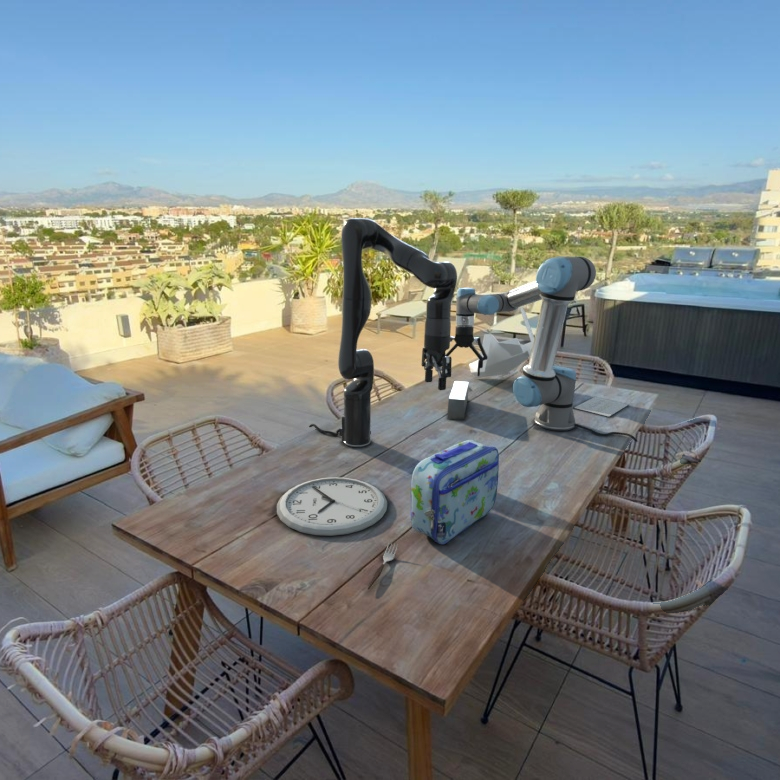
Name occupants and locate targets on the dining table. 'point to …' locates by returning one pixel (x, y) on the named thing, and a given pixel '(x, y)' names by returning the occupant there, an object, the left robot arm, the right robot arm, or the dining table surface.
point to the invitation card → (601, 406)
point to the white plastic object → (503, 354)
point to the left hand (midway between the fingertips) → (435, 385)
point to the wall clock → (331, 506)
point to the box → (458, 400)
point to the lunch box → (453, 489)
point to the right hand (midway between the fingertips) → (462, 374)
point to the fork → (386, 558)
